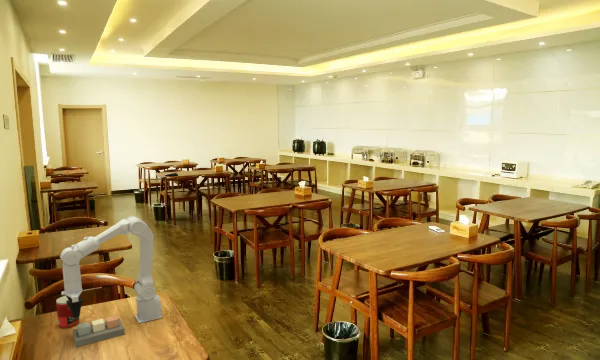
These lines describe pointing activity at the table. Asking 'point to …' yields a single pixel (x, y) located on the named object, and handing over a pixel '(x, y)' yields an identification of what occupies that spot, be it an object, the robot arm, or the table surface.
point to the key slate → (83, 329)
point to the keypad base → (98, 335)
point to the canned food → (65, 314)
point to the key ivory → (98, 325)
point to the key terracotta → (112, 322)
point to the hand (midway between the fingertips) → (75, 312)
